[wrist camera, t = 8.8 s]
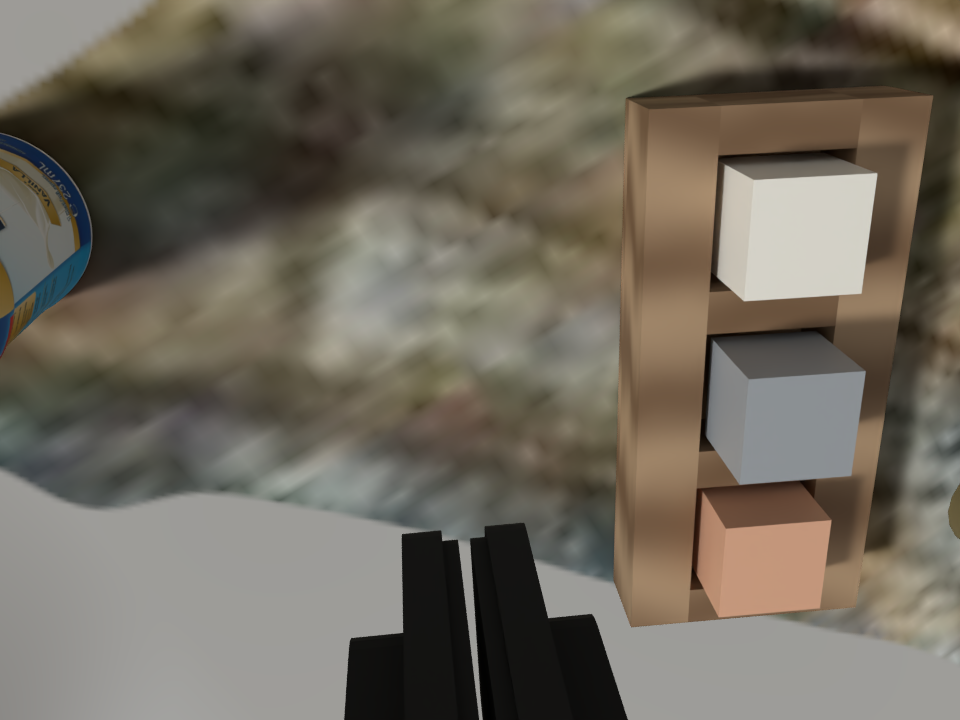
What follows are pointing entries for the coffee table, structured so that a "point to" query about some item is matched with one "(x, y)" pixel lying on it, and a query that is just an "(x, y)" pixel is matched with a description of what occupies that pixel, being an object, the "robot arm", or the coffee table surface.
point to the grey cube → (783, 406)
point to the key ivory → (791, 225)
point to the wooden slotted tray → (742, 319)
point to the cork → (955, 513)
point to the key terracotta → (760, 547)
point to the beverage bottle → (37, 235)
